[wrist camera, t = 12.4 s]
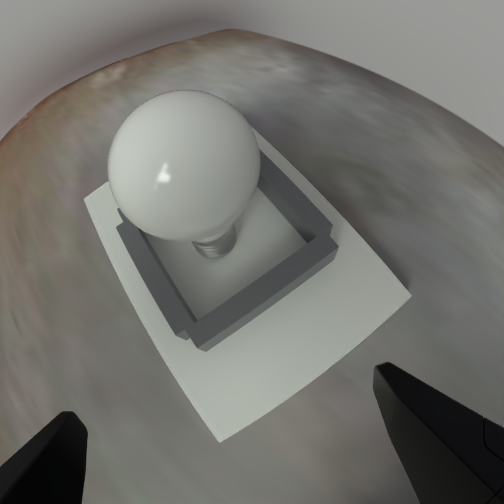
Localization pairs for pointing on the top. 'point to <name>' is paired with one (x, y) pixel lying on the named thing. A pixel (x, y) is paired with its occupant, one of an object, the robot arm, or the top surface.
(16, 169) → the top surface
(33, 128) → the top surface
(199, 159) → the lightbulb
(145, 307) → the bulb holder
